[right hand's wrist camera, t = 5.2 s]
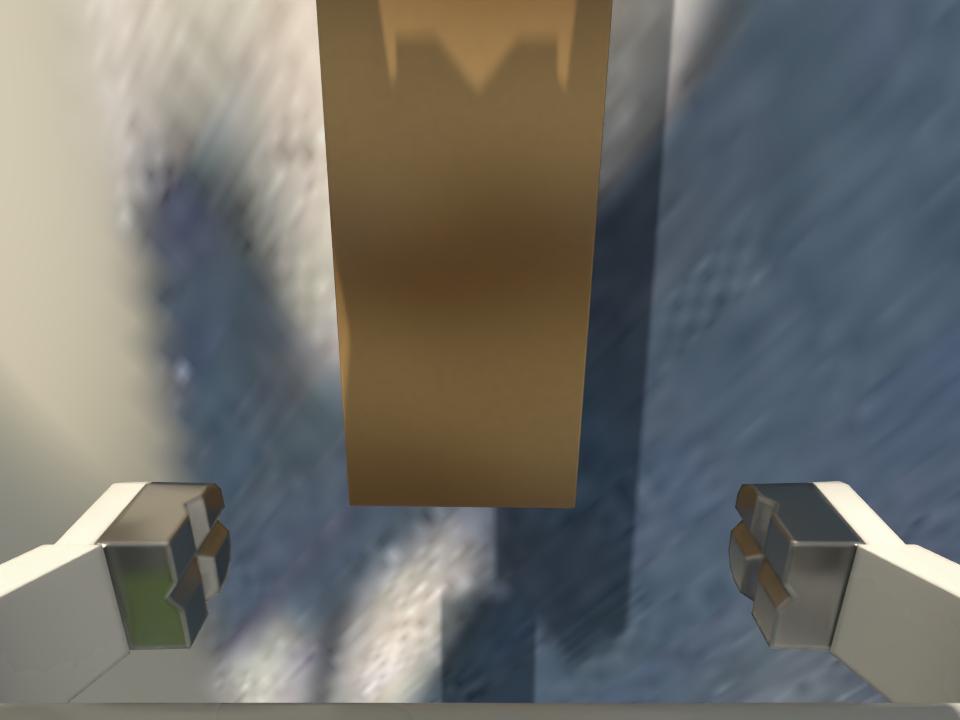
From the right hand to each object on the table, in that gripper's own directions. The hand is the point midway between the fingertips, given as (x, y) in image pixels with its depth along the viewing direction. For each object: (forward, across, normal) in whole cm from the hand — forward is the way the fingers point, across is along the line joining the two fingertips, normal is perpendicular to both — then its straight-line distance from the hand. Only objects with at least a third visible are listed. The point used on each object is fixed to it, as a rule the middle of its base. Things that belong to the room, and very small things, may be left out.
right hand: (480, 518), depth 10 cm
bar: (+13, 0, +8) cm, 16 cm away
